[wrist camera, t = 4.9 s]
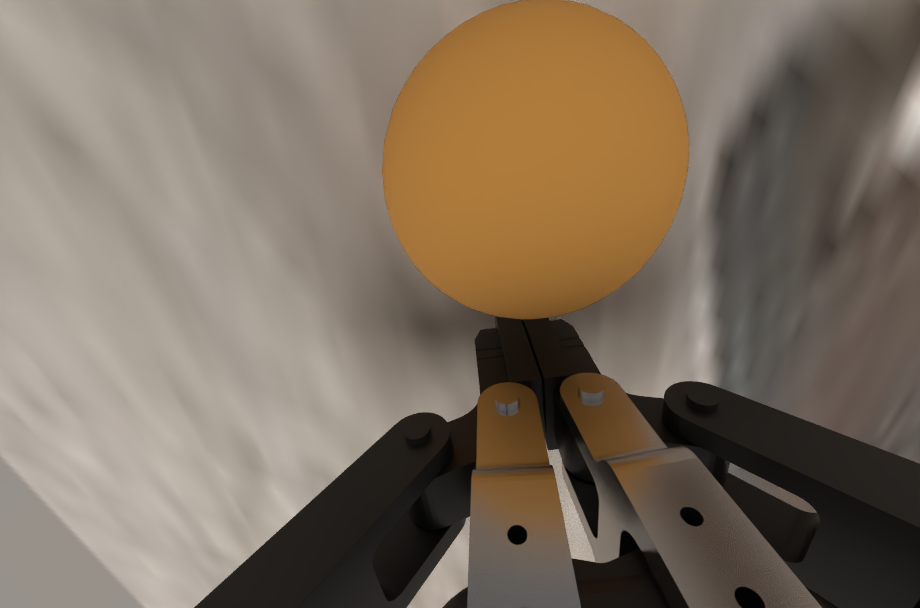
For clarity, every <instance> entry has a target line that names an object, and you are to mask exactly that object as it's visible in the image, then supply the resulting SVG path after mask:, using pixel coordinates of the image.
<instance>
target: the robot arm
mask: <svg viewBox="0 0 920 608" xmlns="http://www.w3.org/2000/svg"><path fill="white" fill-rule="evenodd" d="M495 322H496V328H492V329H484V330H480V332H479V333H478V335H477V337H476V339H475V346H476V356H477V366H478V376H479V385H480V396H479V399H478V403H477V405H476V406H475V407H474V408H473V409H472V410H471V411H470V412H469V413H468V414H466V415H464V416H462V417H460V418H458V419H455V420H453V421H450V422H446V420H445V419H444V418H443V417H441V416H439V415H437V414H434V413H426V412H424V413H417V414H413V415H410V416H408V417H405V418H404V419H402V420H400V421H399V422H398V423H397V424H396V425H394V426H393V427H392V428H391V429H390V430H389V431H388V432H387V433H386V434H385V435H383V436H382V437H381V438H380V439H379V440H378V441H377V442H376V443H375V444H374V445H372V446H371V447H370V448H369V449H368V450H367V451H366V452H365V453H364V454H363V455H361V456H360V457H359V458H358V459H357V460H356V461H355V462H354V463H353V464H352V465H350V466H349V467H348V468H347V469H346V470H345V471H344V472H343V473H342V474H341V475H339V476H338V477H337V478H336V479H335V480H334V481H333V482H332V483H331V484H330V485H328V486H327V487H326V488H325V489H324V490H323V491H322V492H321V493H320V494H319V495H317V496H316V497H315V498H314V499H313V500H312V501H311V502H310V503H309V504H308V505H306V506H305V507H304V508H303V509H302V510H301V511H300V512H299V513H298V514H297V515H295V516H294V517H293V518H292V519H291V520H290V521H289V522H288V523H287V524H286V525H284V526H283V527H282V528H281V529H280V530H279V531H278V532H277V533H276V534H275V535H273V536H272V537H271V538H270V539H269V540H268V541H267V542H266V543H265V544H264V545H263V546H261V547H260V548H259V549H258V550H257V551H256V552H255V553H254V554H253V555H252V556H250V557H249V558H248V559H247V560H246V561H245V562H244V563H243V564H242V565H241V566H239V567H238V568H237V569H236V570H235V571H234V572H233V573H232V574H231V575H230V576H228V577H227V578H226V579H225V580H224V581H223V582H222V583H221V584H220V585H219V586H217V587H216V588H215V589H214V590H213V591H212V592H211V593H210V594H209V595H208V596H206V597H205V598H204V599H203V600H202V601H201V602H200V603H199V604H198V605H197V606H195V607H194V608H406V607H407V606H408V605H409V603H410V602H411V600H412V599H413V598H414V596H415V595H416V593H417V592H418V591H419V589H420V588H421V586H422V585H423V583H424V582H425V581H426V579H427V578H428V576H429V575H430V574H431V572H432V571H433V569H434V568H435V566H436V565H437V564H438V562H439V561H440V559H441V558H442V557H443V555H444V554H445V552H446V551H447V549H448V548H449V547H450V545H451V544H452V542H453V541H454V540H455V538H456V537H457V535H458V534H459V532H460V531H461V530H462V528H463V526H464V524H465V521H466V518H467V517H469V516H470V538H469V568H468V587H467V588H465V589H463V590H462V591H461V592H459V593H458V594H457V595H455V596H454V597H453V598H452V599H450V600H449V601H448V602H447V604H446V605H445V606H444V607H443V608H920V464H919V463H916V462H914V461H911V460H908V459H906V458H903V457H900V456H898V455H895V454H893V453H890V452H887V451H885V450H882V449H879V448H877V447H874V446H871V445H869V444H866V443H864V442H861V441H858V440H856V439H853V438H850V437H848V436H845V435H842V434H840V433H837V432H835V431H832V430H829V429H827V428H824V427H821V426H819V425H816V424H814V423H811V422H808V421H806V420H803V419H800V418H798V417H795V416H792V415H790V414H787V413H785V412H782V411H779V410H777V409H774V408H771V407H769V406H766V405H763V404H761V403H758V402H756V401H753V400H750V399H748V398H745V397H742V396H740V395H737V394H734V393H732V392H729V391H727V390H724V389H721V388H719V387H716V386H713V385H710V384H706V383H702V382H693V381H687V382H679V383H676V384H673V385H671V386H670V387H669V388H667V390H666V391H665V394H664V398H654V397H644V396H636V395H631V394H628V393H625V392H624V390H623V389H622V388H621V386H620V385H619V384H618V383H617V382H616V381H614V380H613V379H611V378H609V377H607V376H605V375H601V373H600V372H599V370H598V368H597V366H596V365H595V363H594V361H593V360H592V358H591V356H590V354H589V353H588V351H587V349H586V348H585V347H584V344H583V342H582V341H581V339H579V336H578V334H577V332H576V330H575V329H574V327H573V326H571V325H570V324H568V323H567V322H565V321H564V320H562V319H560V320H553V321H550V320H549V318H541V319H513V318H505V317H498V316H495ZM545 442H546V443H545ZM546 445H547V448H548V450H554V449H559V452H560V455H561V458H562V474H563V478H564V480H565V483H566V485H567V488H568V490H569V493H570V495H571V498H572V500H573V503H574V505H575V508H576V510H577V513H578V515H579V518H580V520H581V523H582V525H583V528H584V530H585V533H586V535H587V538H588V540H589V543H590V545H591V548H592V551H593V554H594V558H595V562H590V561H584V560H578V559H572V558H571V554H570V549H569V544H568V539H567V534H566V528H565V523H564V518H563V513H562V508H561V503H560V498H559V493H558V488H557V483H556V478H555V473H554V469H553V466H552V465H550V464H549V459H548V454H547V449H546ZM730 462H731V463H733V464H735V465H737V466H739V467H741V468H743V469H745V470H747V471H749V472H751V473H753V474H755V475H757V476H759V477H761V478H763V479H765V480H767V481H769V482H771V483H773V484H775V485H777V486H779V487H781V488H783V489H785V490H787V491H789V492H791V493H793V494H795V495H797V496H799V497H800V498H802V499H804V500H805V501H807V502H808V503H809V504H810V505H811V506H812V507H813V508H814V509H815V510H816V511H817V513H809V512H805V511H802V510H799V509H797V508H795V507H793V506H791V505H789V504H787V503H785V502H784V501H782V500H780V499H778V498H776V497H774V496H772V495H770V494H768V493H766V492H764V491H762V490H760V489H758V488H757V487H755V486H753V485H751V484H749V483H747V482H745V481H743V480H741V479H739V478H737V477H735V476H733V475H732V474H730V473H728V469H729V465H730Z"/></svg>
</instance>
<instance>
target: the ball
mask: <svg viewBox="0 0 920 608" xmlns="http://www.w3.org/2000/svg"><path fill="white" fill-rule="evenodd" d="M688 157H689V140H688V129H687V122H686V115H685V112H684V108H683V104H682V101H681V98H680V95H679V93H678V90H677V87H676V84H675V82H674V80H673V79H672V77H671V75H670V73H669V71H668V69H667V68H666V66H665V65H664V63H663V62H662V60H661V58H660V57H659V55H658V54H657V53H656V52H655V51H654V49H653V48H652V47H651V46H650V45H649V44H648V43H647V42H646V41H645V40H644V39H643V38H642V37H641V36H640V35H639V34H638V33H637V32H636V31H634V30H633V29H632V28H630V27H629V26H628V25H626V24H625V23H623V22H622V21H621V20H619V19H617V18H615V17H613V16H611V15H609V14H607V13H604V12H602V11H600V10H598V9H596V8H594V7H591V6H589V5H585V4H581V3H577V2H573V1H565V0H524V1H518V2H514V3H509V4H505V5H501V6H498V7H496V8H493V9H490V10H488V11H485V12H482V13H480V14H478V15H477V16H475V17H473V18H471V19H469V20H467V21H465V22H464V23H462V24H461V25H459V26H458V27H457V28H455V29H454V30H452V31H451V32H450V33H448V34H447V35H446V36H445V37H444V38H443V39H442V40H441V41H439V42H438V43H437V44H436V45H435V46H434V47H433V48H432V49H431V50H430V51H429V52H428V53H427V54H426V55H425V56H424V58H423V59H422V60H421V61H420V62H419V64H418V65H417V66H416V67H415V69H414V70H413V72H412V74H411V75H410V77H409V78H408V80H407V82H406V83H405V85H404V87H403V89H402V91H401V93H400V94H399V97H398V99H397V101H396V104H395V106H394V108H393V111H392V114H391V118H390V121H389V125H388V129H387V133H386V137H385V141H384V153H383V166H382V175H383V185H384V194H385V201H386V205H387V209H388V212H389V216H390V219H391V223H392V226H393V228H394V230H395V233H396V235H397V237H398V239H399V241H400V243H401V245H402V247H403V249H404V250H405V252H406V253H407V255H408V256H409V258H410V259H411V261H412V262H413V264H414V265H415V266H416V267H417V268H418V270H419V271H420V272H421V273H422V274H423V275H424V276H425V277H426V278H427V279H428V280H429V281H430V282H431V283H432V284H433V285H434V286H436V287H437V288H438V289H439V290H441V291H442V292H443V293H445V294H446V295H447V296H449V297H451V298H452V299H454V300H456V301H458V302H459V303H461V304H463V305H465V306H467V307H469V308H472V309H474V310H477V311H480V312H483V313H486V314H490V315H493V316H498V317H505V318H513V319H541V318H548V317H554V316H559V315H563V314H567V313H570V312H574V311H577V310H579V309H582V308H584V307H587V306H589V305H591V304H593V303H595V302H597V301H599V300H600V299H602V298H604V297H606V296H608V295H609V294H611V293H612V292H614V291H615V290H617V289H618V288H619V287H621V286H622V285H623V284H624V283H625V282H627V281H628V280H629V279H630V278H631V277H633V276H634V275H635V274H636V273H637V272H638V271H639V270H640V269H641V268H642V266H643V265H644V264H645V263H646V262H647V261H648V259H649V258H650V257H651V256H652V255H653V253H654V252H655V251H656V250H657V248H658V246H659V245H660V243H661V242H662V240H663V238H664V237H665V235H666V233H667V232H668V230H669V228H670V227H671V224H672V222H673V219H674V217H675V214H676V212H677V209H678V207H679V204H680V202H681V199H682V195H683V190H684V186H685V181H686V176H687V171H688Z"/></svg>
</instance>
